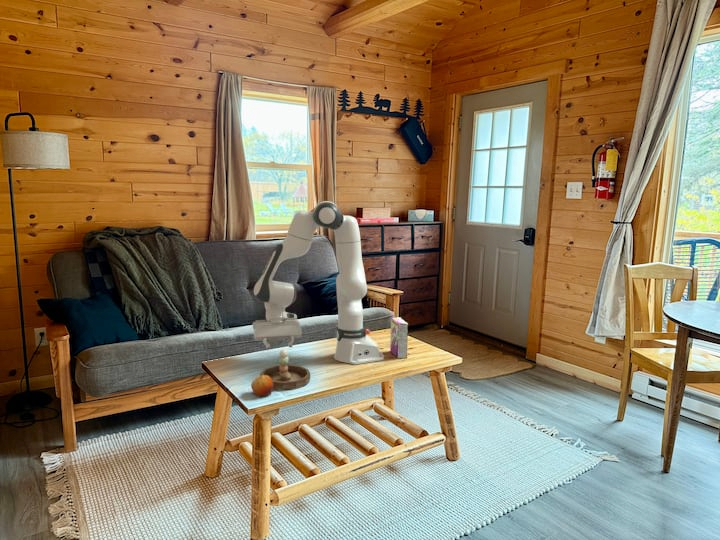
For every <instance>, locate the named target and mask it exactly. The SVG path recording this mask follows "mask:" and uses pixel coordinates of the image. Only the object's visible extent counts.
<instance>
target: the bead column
mask: <svg viewBox="0 0 720 540" xmlns="http://www.w3.org/2000/svg"><path fill="white" fill-rule="evenodd" d="M288 354H289V353H288V350H287V349H281V350H280V351H279V357H278V365H280V367H279V370H280V371H279V376H280V374H281V373H285V372H287V373H289V371H288V366H287V365H289V356H288Z"/></svg>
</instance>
